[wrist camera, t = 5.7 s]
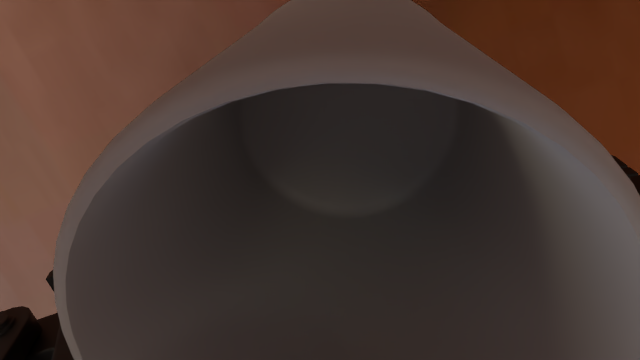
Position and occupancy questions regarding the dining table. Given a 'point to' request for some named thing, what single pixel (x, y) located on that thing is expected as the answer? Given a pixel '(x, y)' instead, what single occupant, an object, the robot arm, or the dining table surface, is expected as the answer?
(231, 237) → the mug
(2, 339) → the robot arm
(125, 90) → the dining table surface
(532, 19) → the dining table surface
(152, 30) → the dining table surface
